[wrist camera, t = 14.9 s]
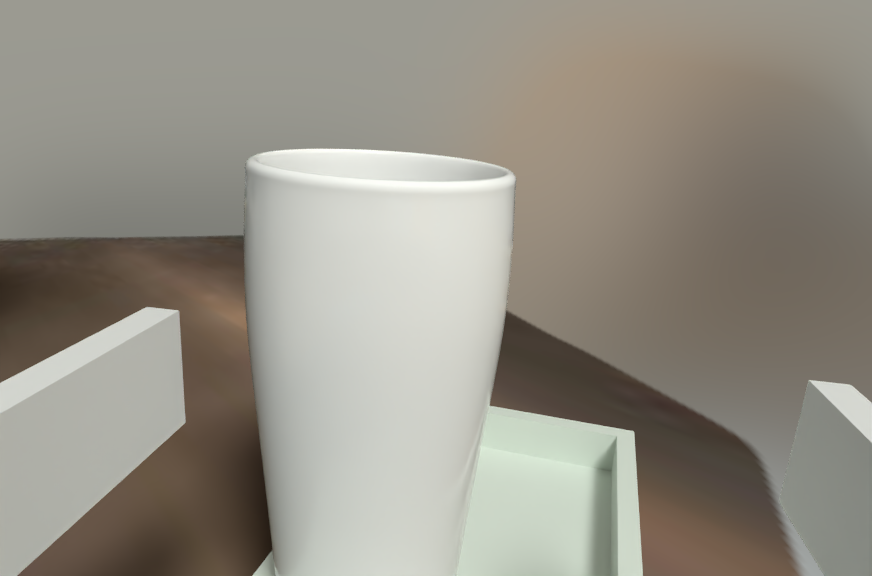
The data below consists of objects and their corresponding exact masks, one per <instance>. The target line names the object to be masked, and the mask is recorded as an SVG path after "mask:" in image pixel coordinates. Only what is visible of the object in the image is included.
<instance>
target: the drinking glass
mask: <svg viewBox="0 0 872 576" xmlns="http://www.w3.org/2000/svg"><path fill="white" fill-rule="evenodd" d="M245 173H246V174H245V201H244V204H245V205H244V286H245V307H246V322H247V334H248V345H249V354H250V363H251V372H252V381H253V389H254V398H255V406H256V414H257V422H258V431H259V439H260V447H261V455H262V463H263V472H264V480H265V489H266V497H267V506H268V515H269V524H270V532H271V541H272V550H273V559H274V569H275V576H457V571H458V566H459V560H460V555H461V549H462V544H463V539H464V533H465V528H466V523H467V518H468V512H469V507H470V502H471V497H472V492H473V487H474V481H475V476H476V471H477V466H478V461H479V456H480V451H481V446H482V441H483V436H484V431H485V426H486V421H487V416H488V411H489V406H490V400H491V395H492V390H493V385H494V380H495V375H496V370H497V364H498V359H499V354H500V348H501V342H502V336H503V329H504V322H505V315H506V308H507V299H508V291H509V281H510V271H511V260H512V247H513V229H514V210H515V209H514V208H515V189H516V177H515V175H514V173H512V172H511V171H510V170H508V169H506V168H504V167H501V166H498V165H494V164H490V163H485V162H480V161H475V160H469V159H463V158H456V157H448V156H440V155H431V154H421V153H409V152H396V151H380V150H359V149H295V150H279V151H270V152H264V153H259V154H256V155H253V156H251V157H250V158H249V159H248V160H247V162H246V164H245Z"/></svg>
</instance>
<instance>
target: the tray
mask: <svg viewBox="0 0 872 576" xmlns="http://www.w3.org/2000/svg"><path fill="white" fill-rule="evenodd" d="M253 576H275V569H274V559H273V550H272V551H271V552H270V554H269V555H268V556H267V558H266V559H265V560H264V561H263V563H262V564H261V565H260V567H259V568H258V569H257V570H256V572H255V573H254V574H253ZM457 576H643V570H642V554H641V537H640V521H639V504H638V488H637V471H636V455H635V438H634V431H629V430H623V429H618V428H612V427H606V426H601V425H595V424H589V423H584V422H578V421H572V420H567V419H561V418H555V417H550V416H544V415H539V414H533V413H527V412H522V411H516V410H510V409H505V408H499V407H493V406H489V411H488V416H487V421H486V426H485V431H484V436H483V441H482V446H481V451H480V456H479V461H478V466H477V471H476V476H475V481H474V487H473V492H472V497H471V502H470V507H469V512H468V518H467V523H466V528H465V533H464V539H463V544H462V549H461V555H460V560H459V566H458V571H457Z"/></svg>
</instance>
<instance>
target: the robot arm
mask: <svg viewBox="0 0 872 576" xmlns="http://www.w3.org/2000/svg"><path fill="white" fill-rule="evenodd" d="M184 423H185V407H184V390H183V372H182V355H181V337H180V320H179V311H177V310H168V309H159V308H150V307H146V308H144V309H142V310H140V311H138V312H136V313H134V314H132V315H131V316H129V317H127V318H125V319H123V320H121V321H119V322H117V323H115V324H113V325H111V326H109V327H107V328H105V329H104V330H102V331H100V332H98V333H96V334H94V335H92V336H90V337H88V338H86V339H84V340H82V341H80V342H78V343H77V344H75V345H73V346H71V347H69V348H67V349H65V350H63V351H61V352H59V353H57V354H55V355H53V356H51V357H50V358H48V359H46V360H44V361H42V362H40V363H38V364H36V365H34V366H32V367H30V368H28V369H26V370H25V371H23V372H21V373H19V374H17V375H15V376H13V377H11V378H9V379H7V380H5V381H3V382H1V383H0V576H17V575H18V574H19V573H20V572H21V571H22V570H24V569H25V568H26V567H27V566H28V565H29V564H30V563H31V562H32V561H34V560H35V559H36V558H37V557H38V556H39V555H40V554H41V553H42V552H43V551H45V550H46V549H47V548H48V547H49V546H50V545H51V544H52V543H53V542H54V541H56V540H57V539H58V538H59V537H60V536H61V535H62V534H63V533H64V532H65V531H67V530H68V529H69V528H70V527H71V526H72V525H73V524H74V523H75V522H76V521H78V520H79V519H80V518H81V517H82V516H83V515H84V514H85V513H86V512H87V511H89V510H90V509H91V508H92V507H93V506H94V505H95V504H96V503H97V502H99V501H100V500H101V499H102V498H103V497H104V496H105V495H106V494H107V493H108V492H110V491H111V490H112V489H113V488H114V487H115V486H116V485H117V484H118V483H119V482H121V481H122V480H123V479H124V478H125V477H126V476H127V475H128V474H129V473H130V472H132V471H133V470H134V469H135V468H136V467H137V466H138V465H139V464H140V463H141V462H143V461H144V460H145V459H146V458H147V457H148V456H149V455H150V454H151V453H152V452H154V451H155V450H156V449H157V448H158V447H159V446H160V445H161V444H162V443H164V442H165V441H166V440H167V439H168V438H169V437H170V436H171V435H172V434H173V433H175V432H176V431H177V430H178V429H179V428H180V427H181V426H182V425H183V424H184ZM779 503H780V505H781V506H782V508H783V509H784V511H785V513H786V514H787V516H788V518H789V519H790V521H791V522H792V524H793V526H794V527H795V529H796V530H797V532H798V534H799V535H800V537H801V539H802V540H803V542H804V543H805V545H806V547H807V548H808V550H809V551H810V553H811V555H812V556H813V558H814V560H815V561H816V563H817V564H818V566H819V568H820V569H821V571H822V572H823V574H824V576H872V403H871V402H870V401H869V400H868V399H866V398H865V397H864V396H863V395H862V394H861V393H860V392H858V391H857V390H856V389H855V388H854V387H853V386H851V385H847V384H839V383H830V382H821V381H812V380H809V382H808V386H807V390H806V394H805V398H804V402H803V406H802V410H801V415H800V419H799V422H798V426H797V431H796V434H795V439H794V443H793V447H792V451H791V455H790V459H789V463H788V467H787V471H786V475H785V479H784V483H783V487H782V491H781V495H780V499H779Z"/></svg>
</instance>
